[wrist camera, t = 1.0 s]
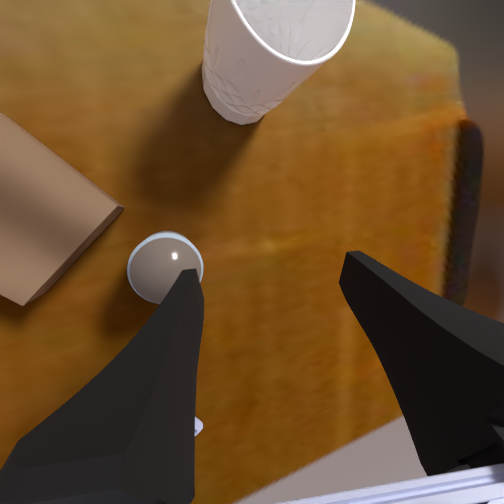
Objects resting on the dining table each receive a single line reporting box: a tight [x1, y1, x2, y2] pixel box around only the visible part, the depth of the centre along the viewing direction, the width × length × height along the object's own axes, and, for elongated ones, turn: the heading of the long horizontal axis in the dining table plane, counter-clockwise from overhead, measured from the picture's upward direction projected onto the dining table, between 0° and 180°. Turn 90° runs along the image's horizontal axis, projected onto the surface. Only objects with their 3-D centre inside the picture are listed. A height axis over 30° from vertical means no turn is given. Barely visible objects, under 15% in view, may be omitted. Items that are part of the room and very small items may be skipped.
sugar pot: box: [127, 230, 203, 304], centre depth 18 cm, size 5×5×6 cm
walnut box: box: [0, 112, 125, 306], centre depth 15 cm, size 9×9×3 cm
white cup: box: [202, 0, 355, 125], centre depth 16 cm, size 8×8×10 cm
